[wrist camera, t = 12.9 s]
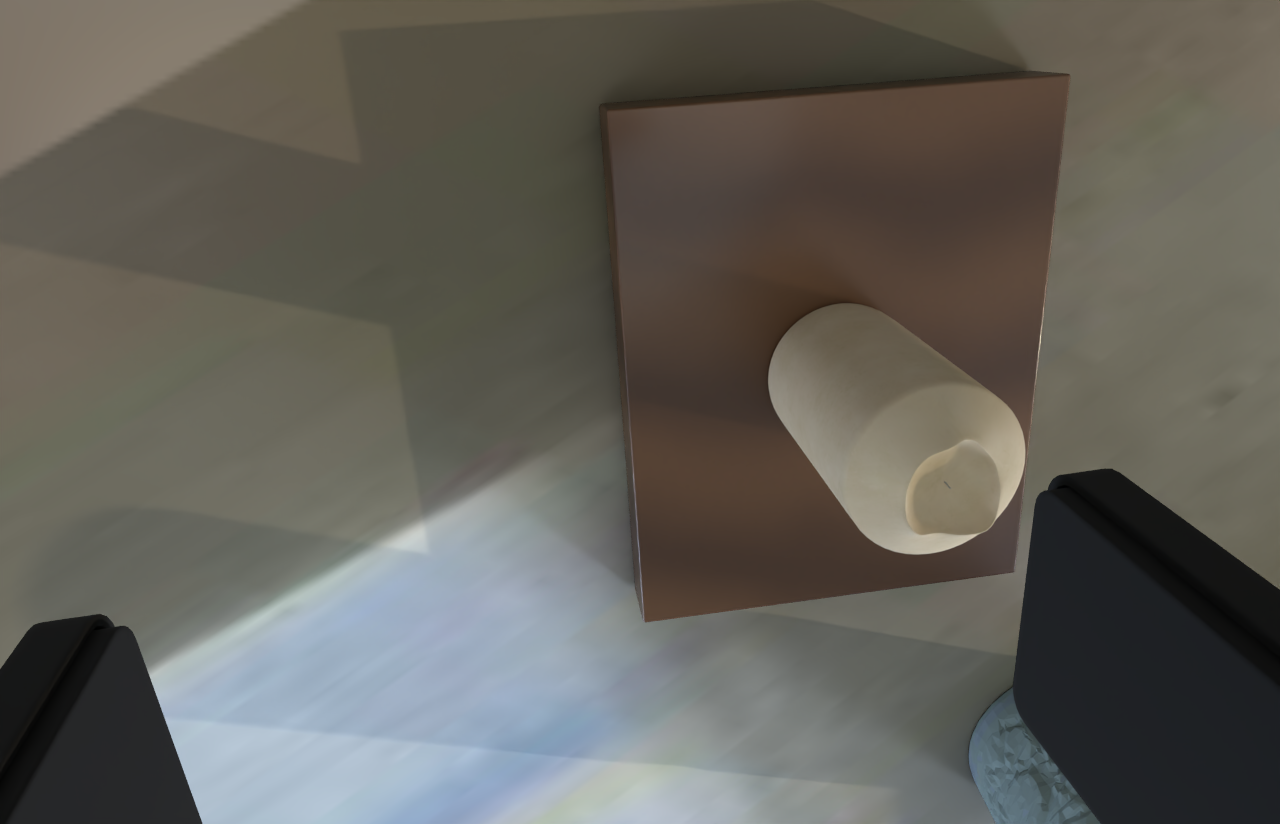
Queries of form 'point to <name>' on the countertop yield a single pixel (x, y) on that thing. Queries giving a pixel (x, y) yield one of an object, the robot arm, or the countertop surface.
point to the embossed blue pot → (1020, 772)
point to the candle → (895, 429)
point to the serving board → (812, 308)
